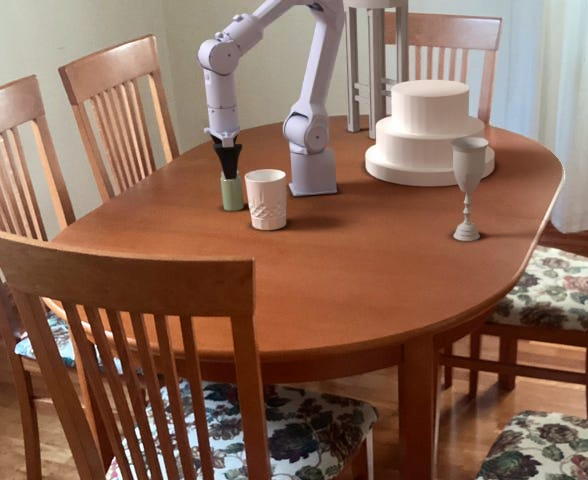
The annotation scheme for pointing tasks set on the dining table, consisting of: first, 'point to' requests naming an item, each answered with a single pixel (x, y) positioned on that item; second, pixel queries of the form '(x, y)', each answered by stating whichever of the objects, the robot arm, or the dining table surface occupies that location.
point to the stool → (373, 58)
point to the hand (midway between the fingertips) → (229, 173)
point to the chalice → (468, 178)
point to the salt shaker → (232, 193)
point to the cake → (424, 134)
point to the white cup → (267, 198)
